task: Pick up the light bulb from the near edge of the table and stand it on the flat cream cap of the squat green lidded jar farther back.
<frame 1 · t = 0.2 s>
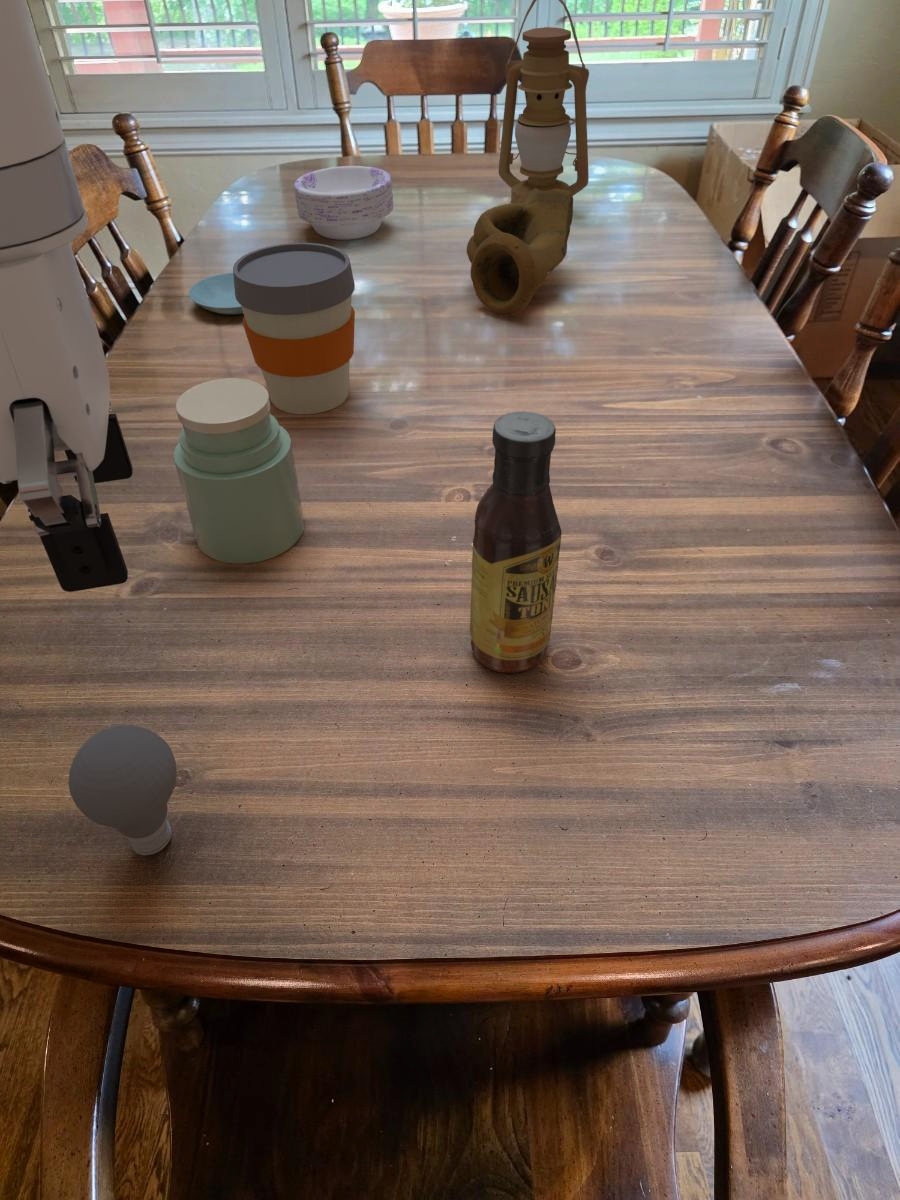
hand: (101, 527, 47), 20 cm above the table, tool pointing down, fingers open, 9 cm apart
brown looped sculpture: (517, 282, 123), on the table
light bulb: (153, 842, 56), on the table
paper bowls: (347, 232, 140), on the table
sauce bottle: (510, 649, 69), on the table
green lidded jar: (250, 529, 81), on the table
saucer: (236, 306, 119), on the table
reusable coffee cup: (310, 396, 100), on the table
lantern: (540, 212, 145), on the table
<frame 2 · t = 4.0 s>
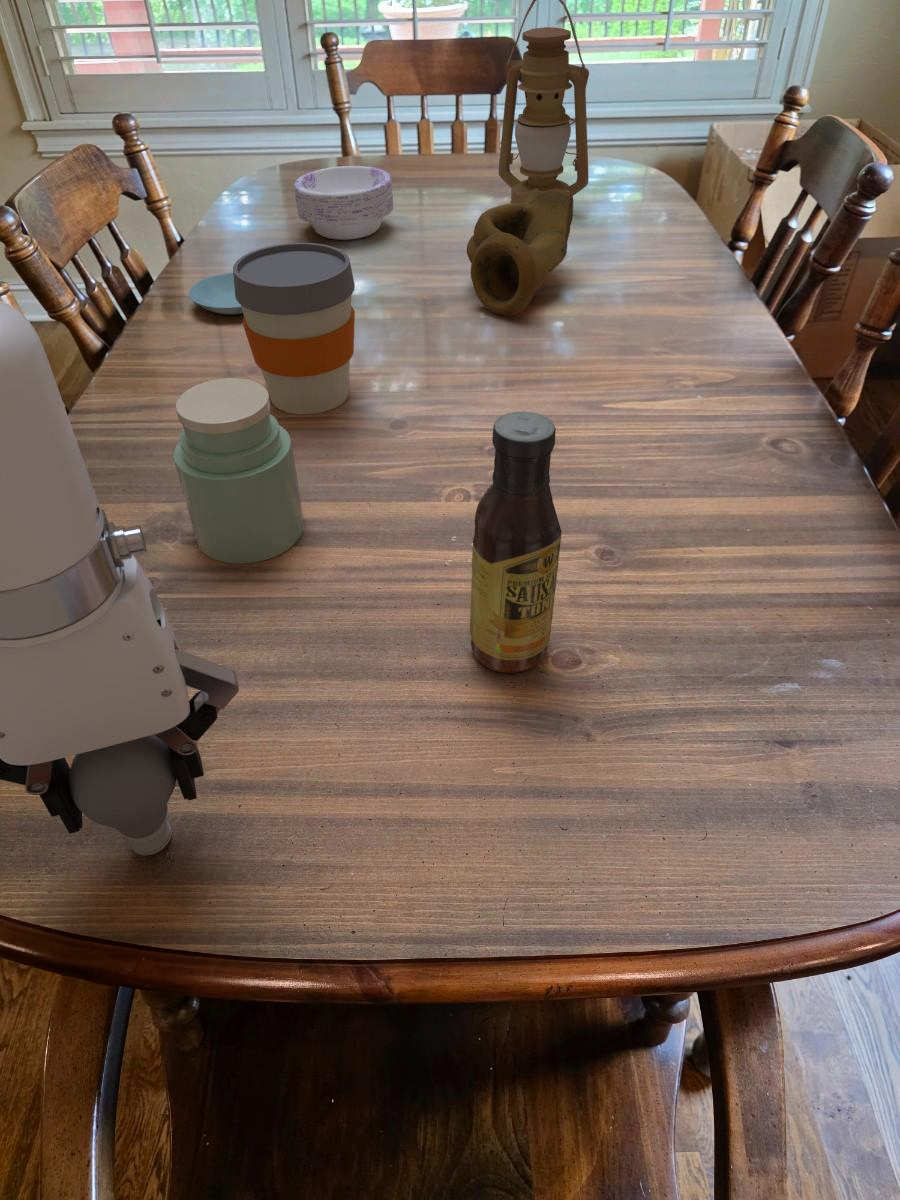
hand: (132, 795, 53), 5 cm above the table, tool pointing down, fingers closed on light bulb, 6 cm apart
light bulb: (153, 842, 56), on the table, touching gripper
everything else where it was.
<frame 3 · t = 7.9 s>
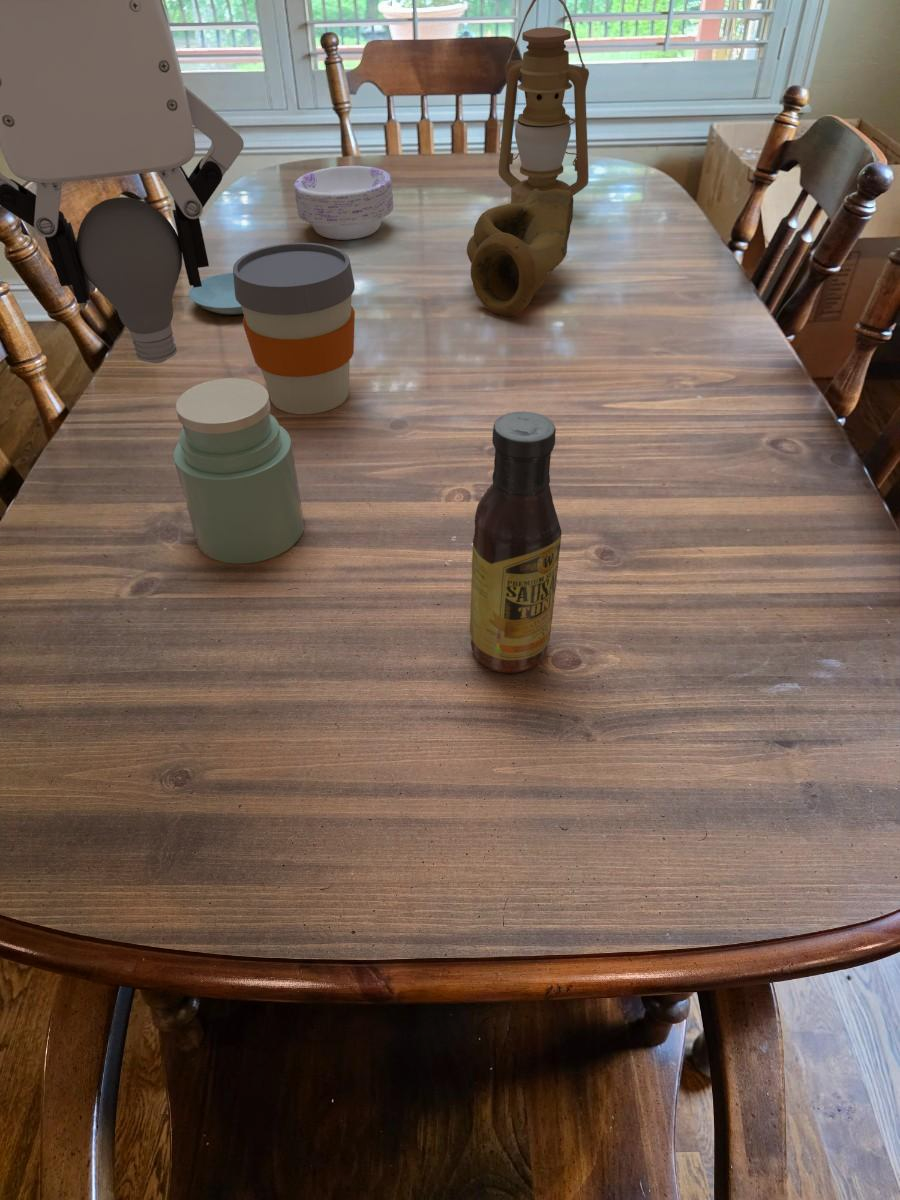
hand: (139, 284, 54), 28 cm above the table, tool pointing down, fingers closed on light bulb, 6 cm apart
light bulb: (159, 362, 57), point 23 cm above the table, touching gripper
everything else where it was.
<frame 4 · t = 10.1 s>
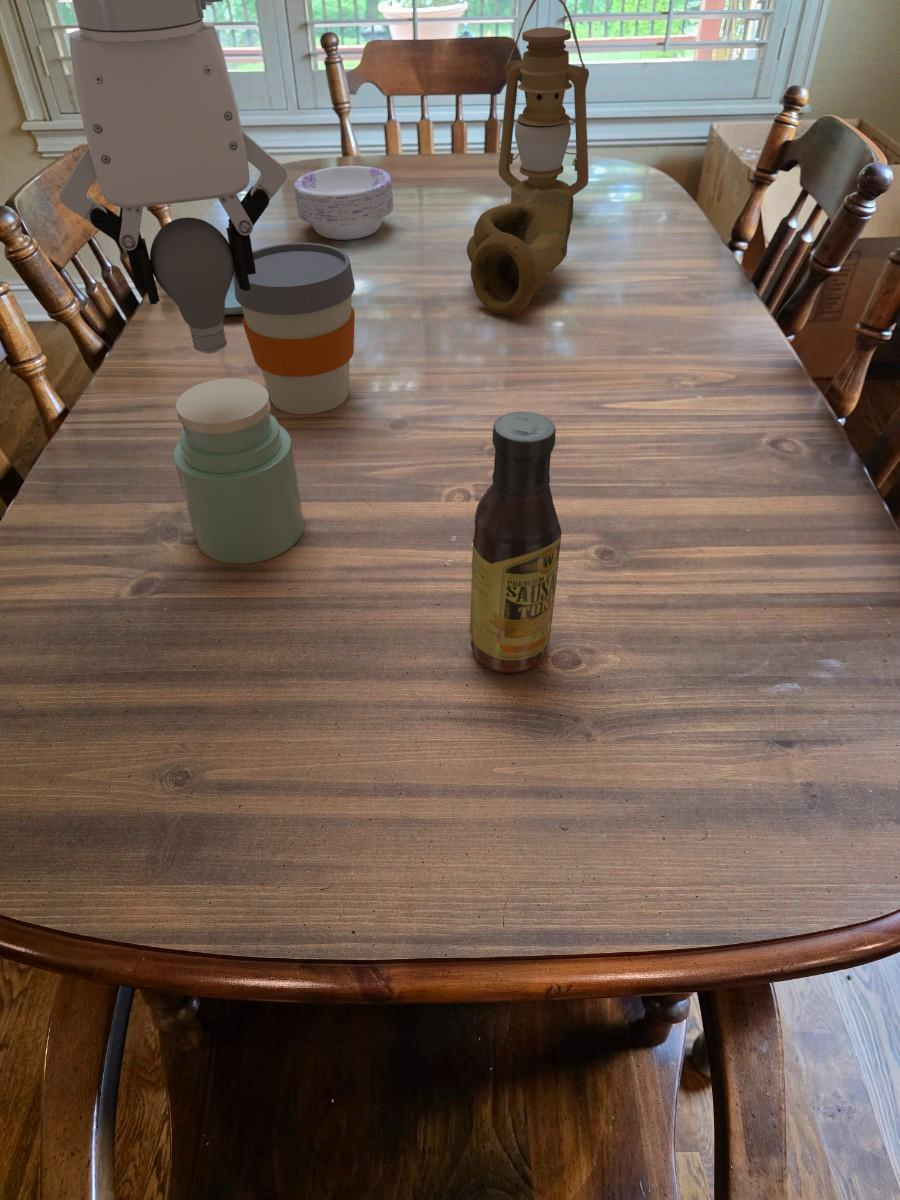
hand: (198, 288, 65), 23 cm above the table, tool pointing down, fingers closed on light bulb, 6 cm apart
light bulb: (212, 352, 69), point 18 cm above the table, touching gripper
everything else where it was.
when the fingers open (18 cm above the table, at t = 11.8 s): light bulb stays where it is, resting on green lidded jar.
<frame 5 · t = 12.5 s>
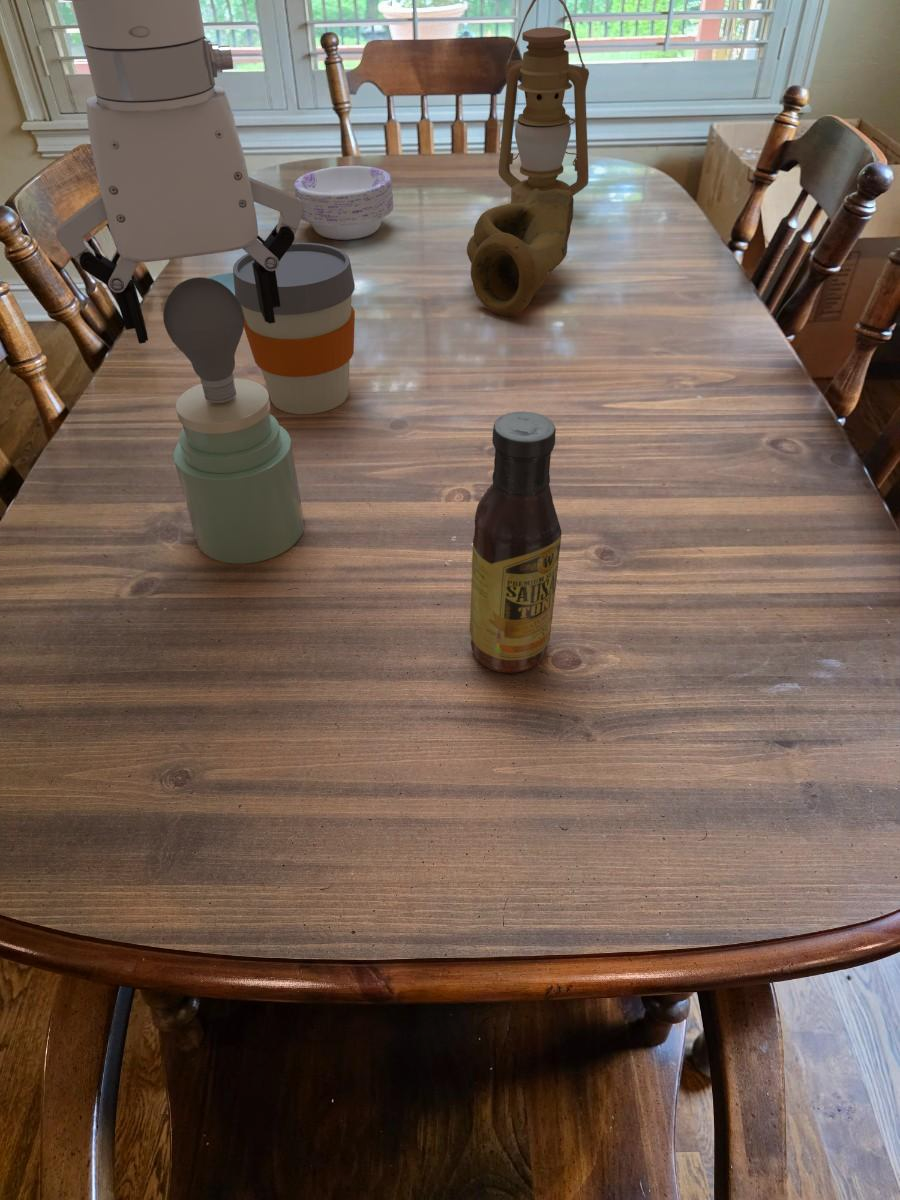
hand: (206, 326, 67), 20 cm above the table, tool pointing down, fingers open, 9 cm apart
light bulb: (222, 402, 72), point 13 cm above the table, touching green lidded jar
green lidded jar: (250, 529, 81), on the table, touching light bulb
everything else where it was.
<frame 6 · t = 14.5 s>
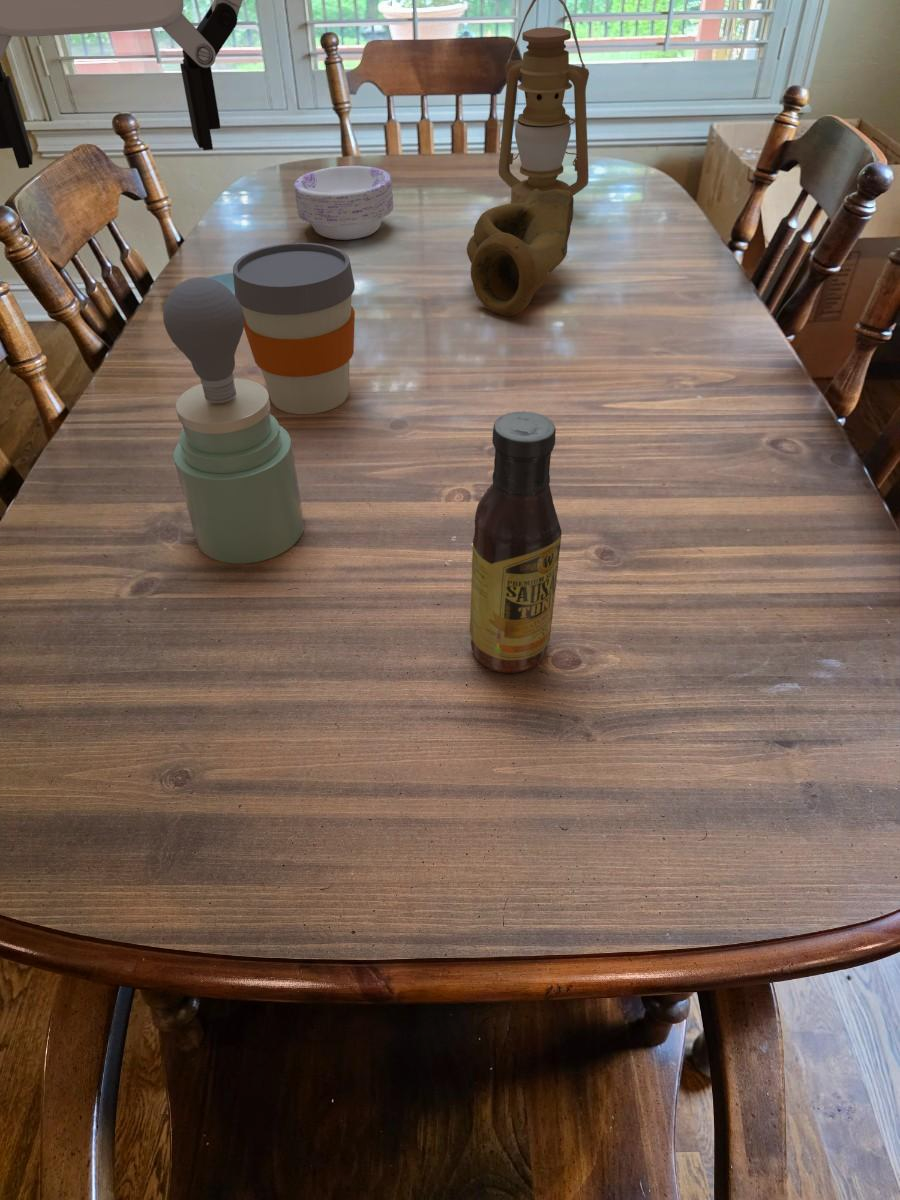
hand: (117, 152, 49), 35 cm above the table, tool pointing down, fingers open, 9 cm apart
nothing on the table moved.
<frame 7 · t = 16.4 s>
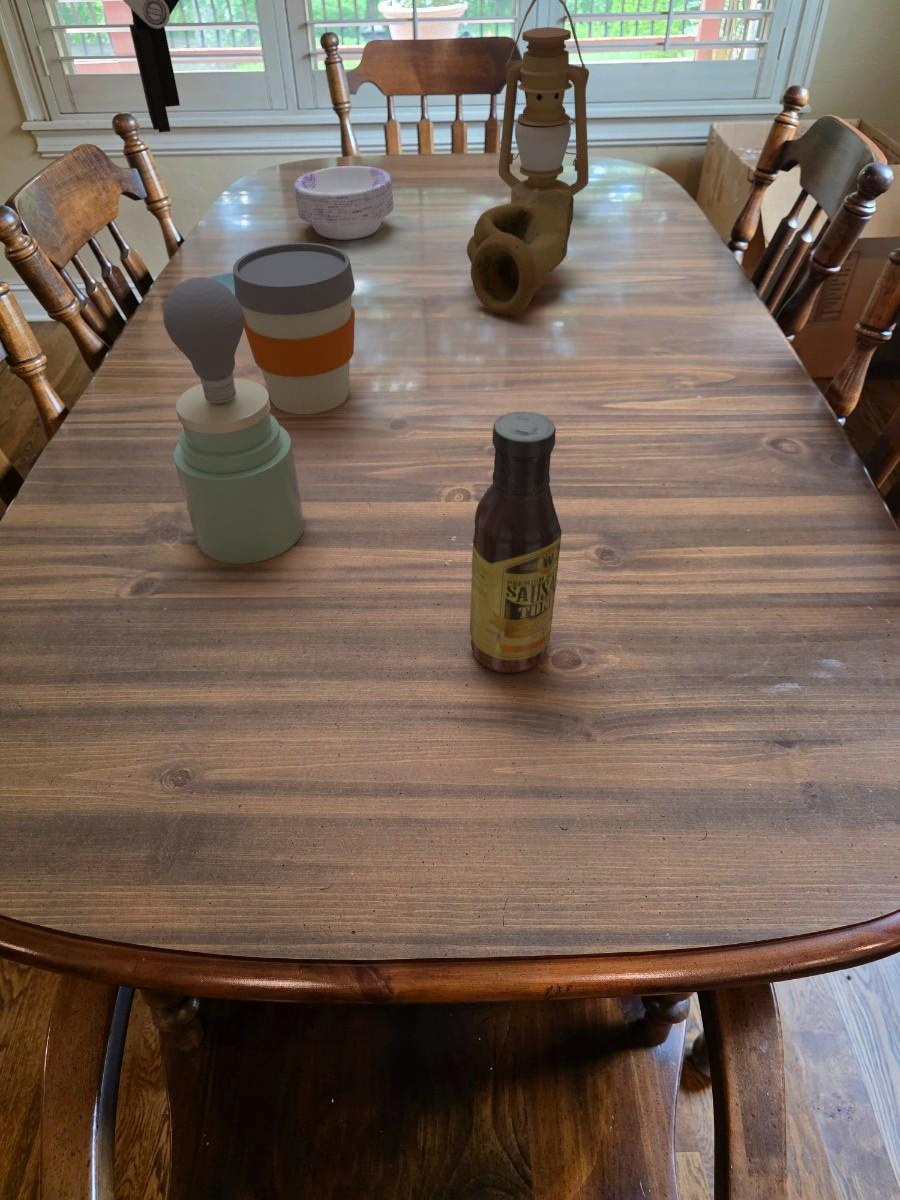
hand: (53, 136, 40), 38 cm above the table, tool pointing down, fingers open, 9 cm apart
nothing on the table moved.
at the end: light bulb 0.1 cm off-centre on the green lidded jar, point 13.3 cm above the green lidded jar's base; light bulb tilted 0°; the gripper is holding nothing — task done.
